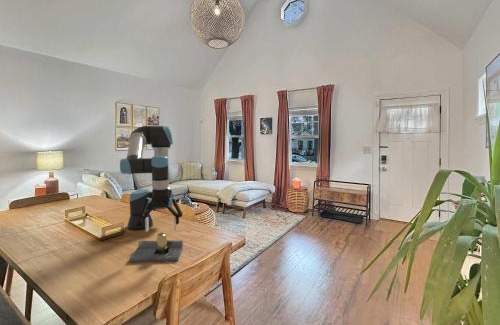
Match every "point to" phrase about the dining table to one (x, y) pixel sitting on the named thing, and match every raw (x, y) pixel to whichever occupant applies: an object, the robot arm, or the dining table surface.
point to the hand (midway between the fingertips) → (161, 230)
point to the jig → (149, 252)
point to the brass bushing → (162, 243)
